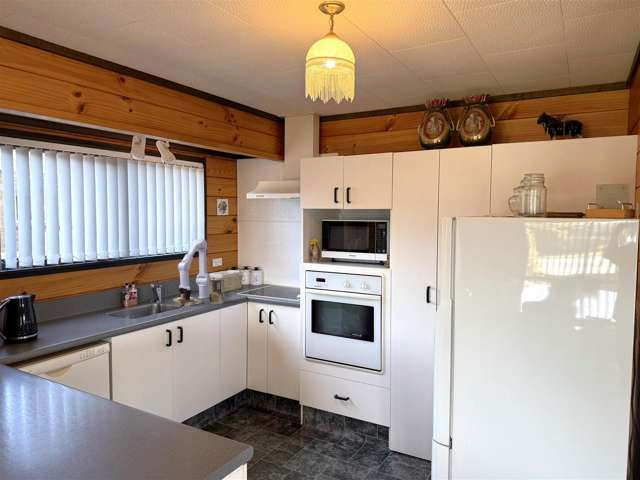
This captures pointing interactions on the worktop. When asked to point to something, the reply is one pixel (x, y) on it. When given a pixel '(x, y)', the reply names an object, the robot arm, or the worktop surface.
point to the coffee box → (216, 291)
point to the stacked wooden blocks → (183, 300)
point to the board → (189, 301)
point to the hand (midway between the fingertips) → (185, 299)
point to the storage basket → (229, 279)
